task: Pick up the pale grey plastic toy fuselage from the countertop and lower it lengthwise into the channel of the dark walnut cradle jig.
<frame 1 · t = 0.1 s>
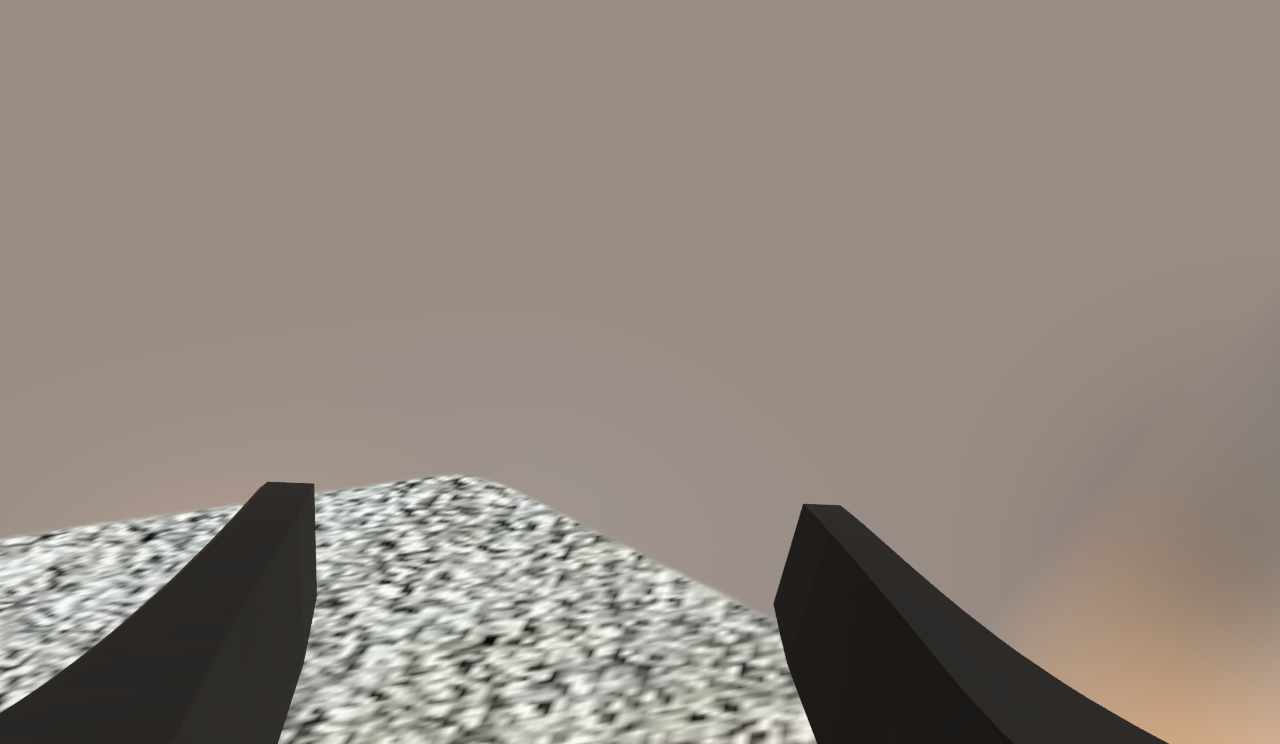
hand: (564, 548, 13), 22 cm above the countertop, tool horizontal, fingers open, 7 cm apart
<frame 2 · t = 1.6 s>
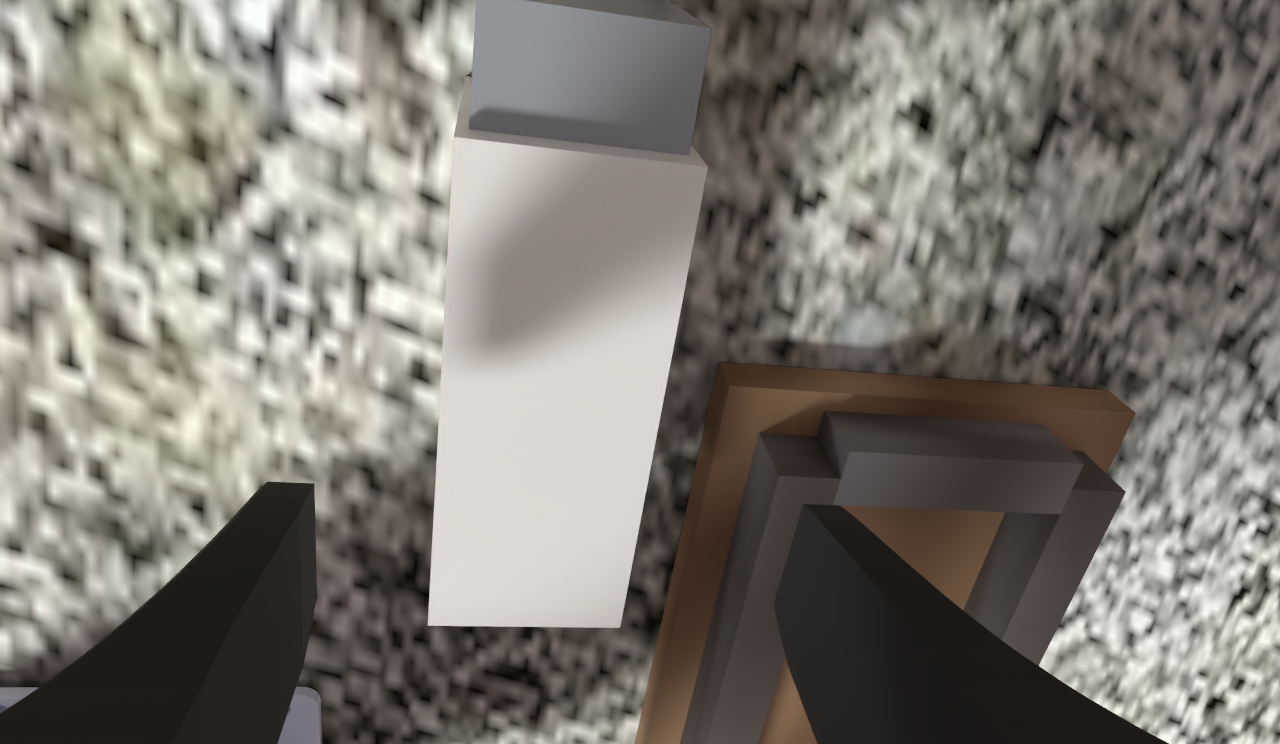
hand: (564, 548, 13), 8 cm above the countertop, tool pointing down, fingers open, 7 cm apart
fuselage: (540, 309, 20), on the countertop
cradle jig: (834, 632, 27), on the countertop
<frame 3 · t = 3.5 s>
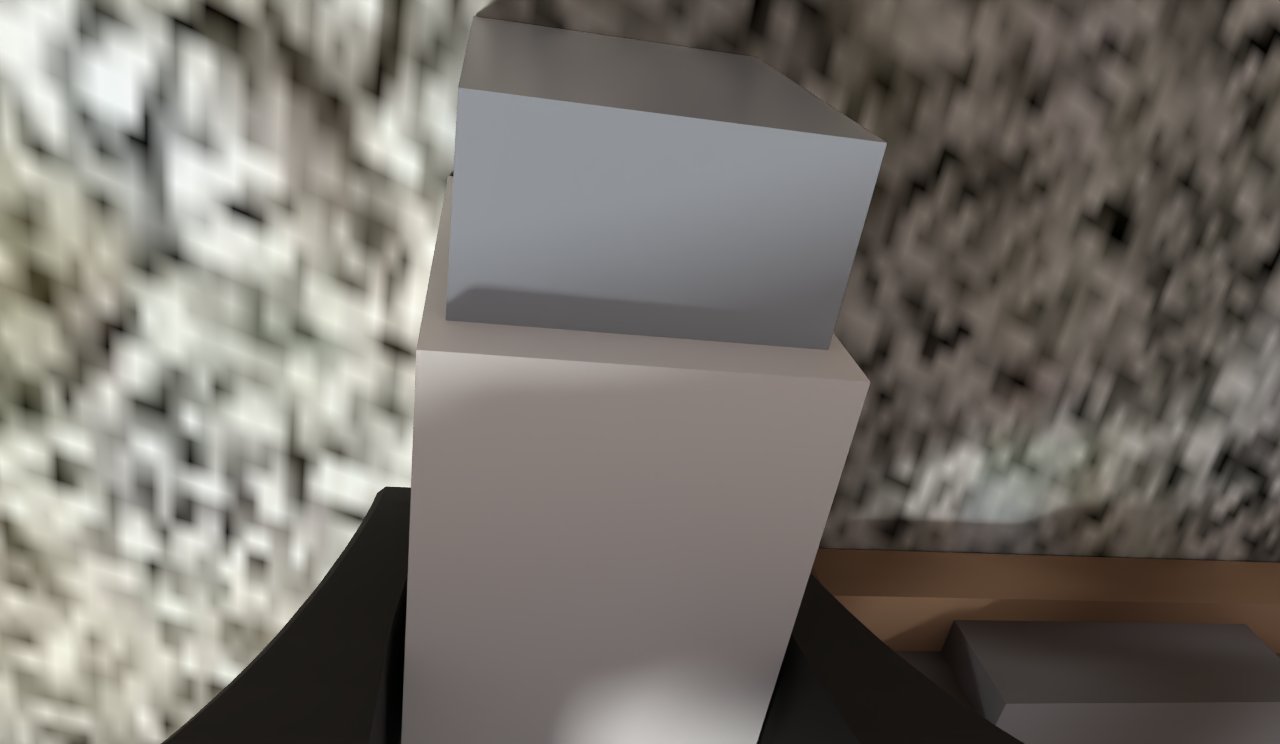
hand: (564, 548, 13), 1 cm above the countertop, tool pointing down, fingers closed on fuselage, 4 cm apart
fuselage: (558, 490, 14), on the countertop, touching gripper
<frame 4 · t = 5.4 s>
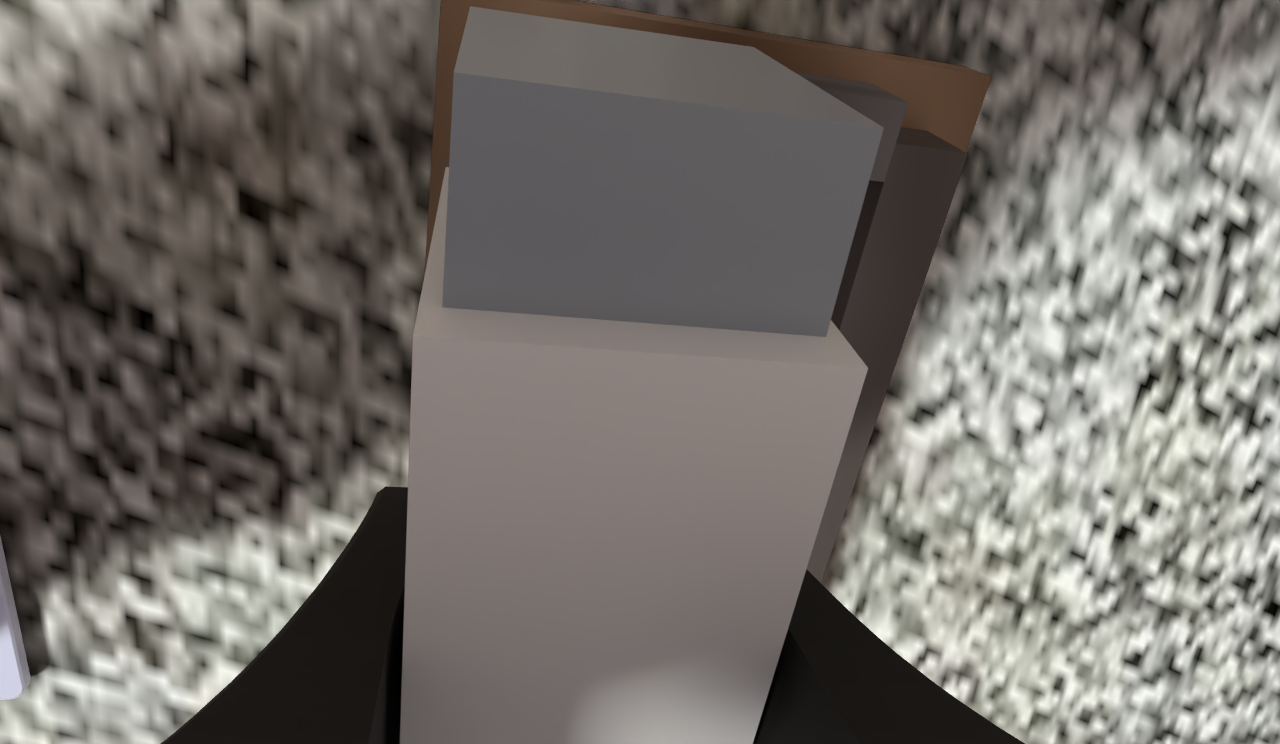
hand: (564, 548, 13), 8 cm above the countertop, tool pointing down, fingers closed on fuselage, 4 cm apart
fuselage: (557, 483, 14), point 7 cm above the countertop, touching gripper
cradle jig: (646, 404, 22), on the countertop
when the fingers open (4 cm above the countertop, at t = 7.3 s): fuselage drops 1 cm, resting on cradle jig.
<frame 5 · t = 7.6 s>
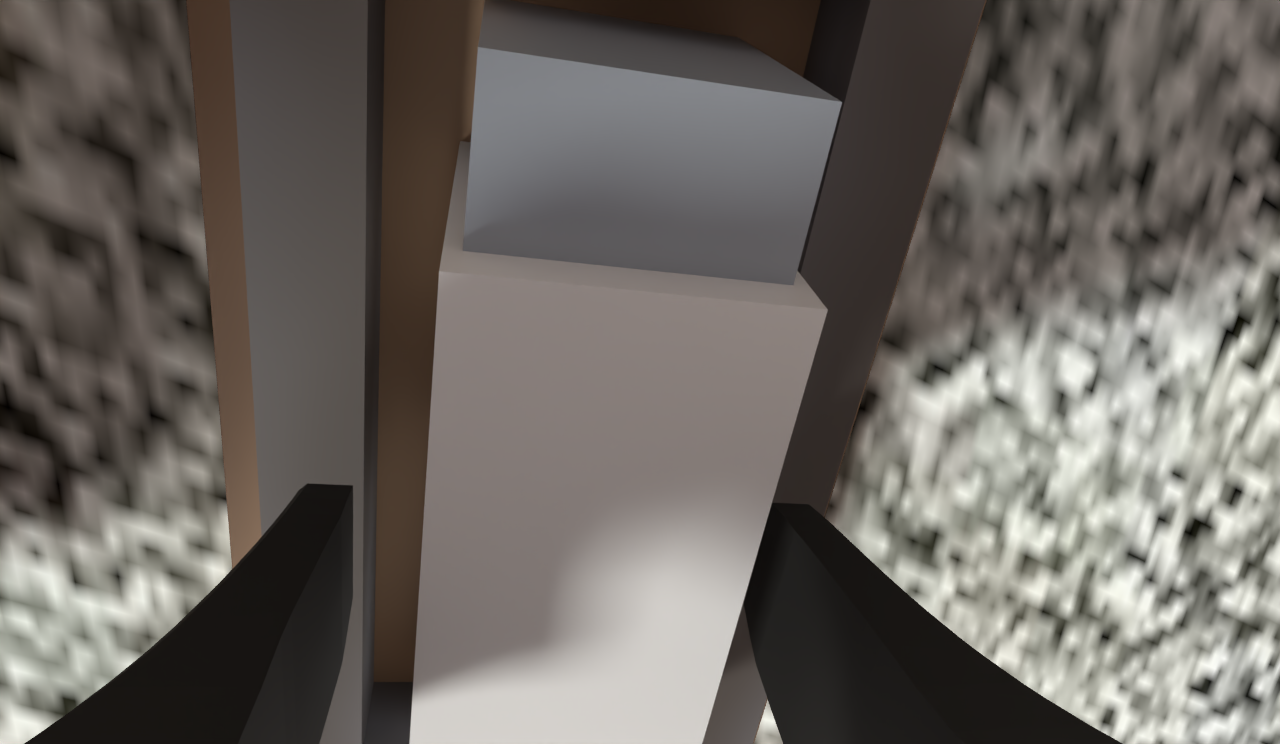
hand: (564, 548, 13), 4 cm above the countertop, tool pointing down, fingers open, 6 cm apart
fuselage: (555, 437, 15), point 1 cm above the countertop, touching cradle jig
cradle jig: (556, 359, 16), on the countertop
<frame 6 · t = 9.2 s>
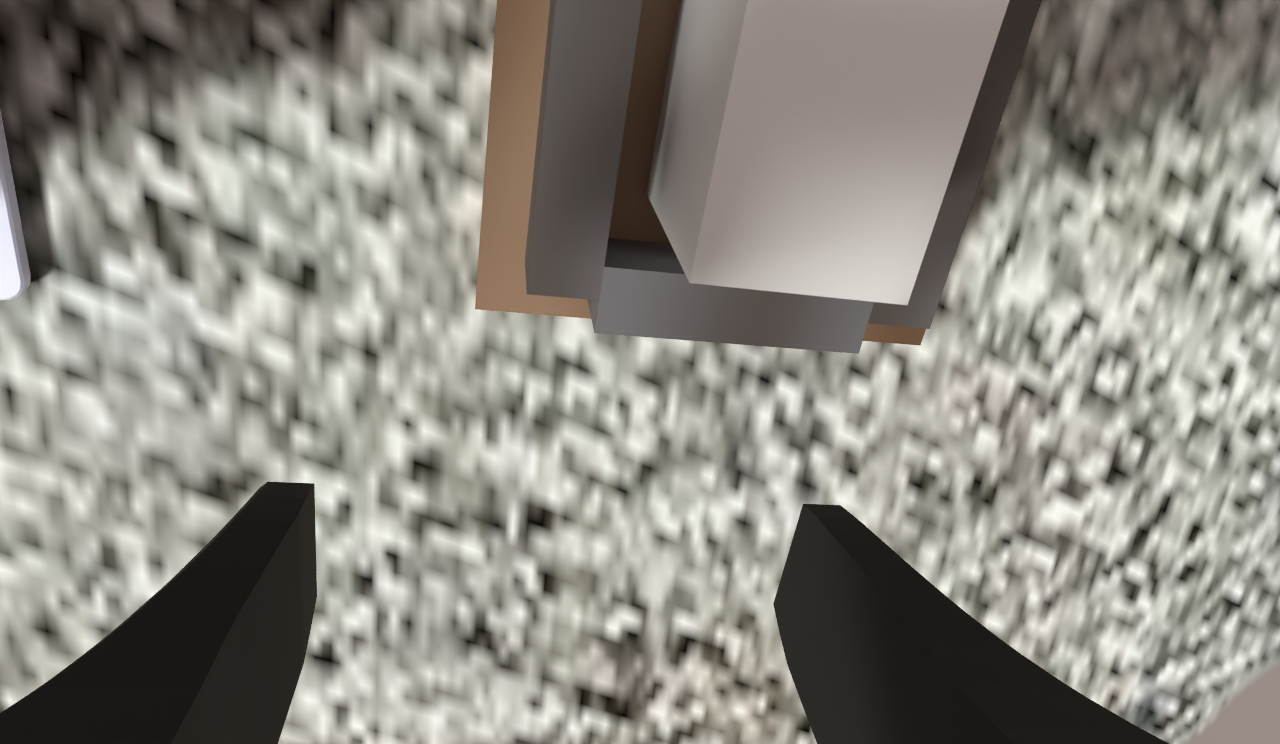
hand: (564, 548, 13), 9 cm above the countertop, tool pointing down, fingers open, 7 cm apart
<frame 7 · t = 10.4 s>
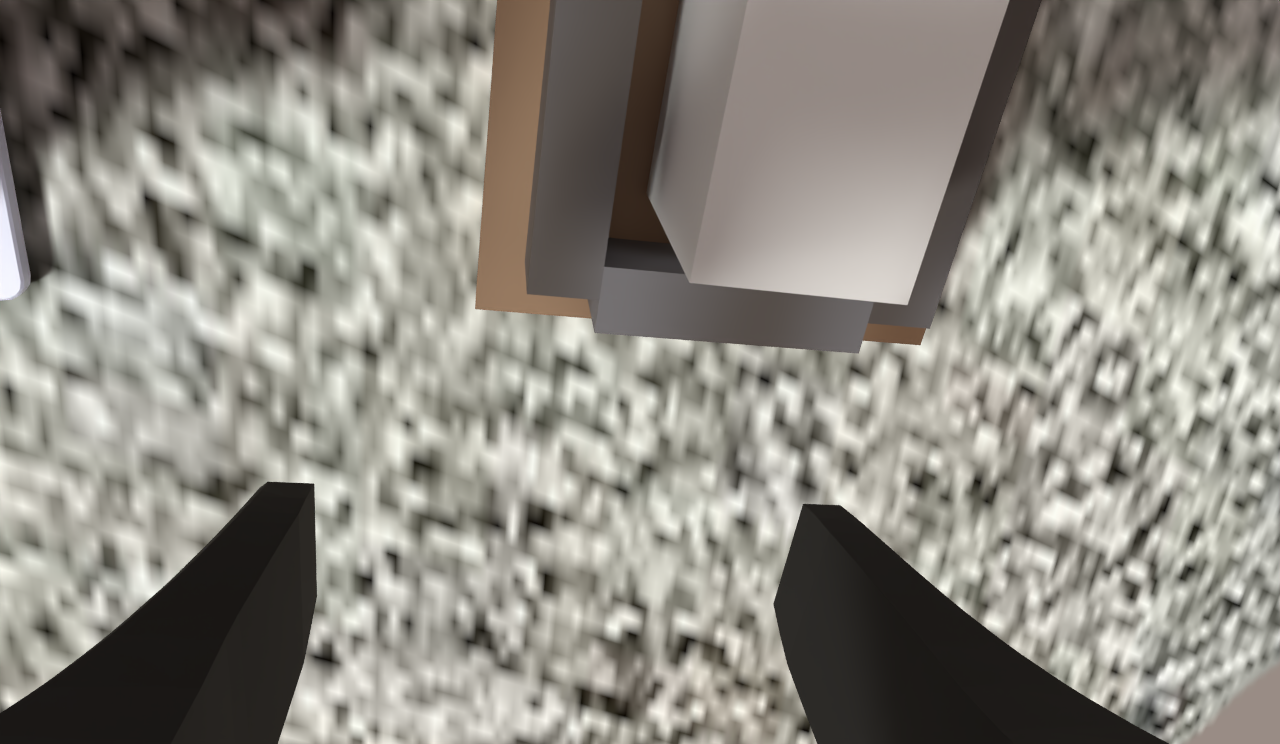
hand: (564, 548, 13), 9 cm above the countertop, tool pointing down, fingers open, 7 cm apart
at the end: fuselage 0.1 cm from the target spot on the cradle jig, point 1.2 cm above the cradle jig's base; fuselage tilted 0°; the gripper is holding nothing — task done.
